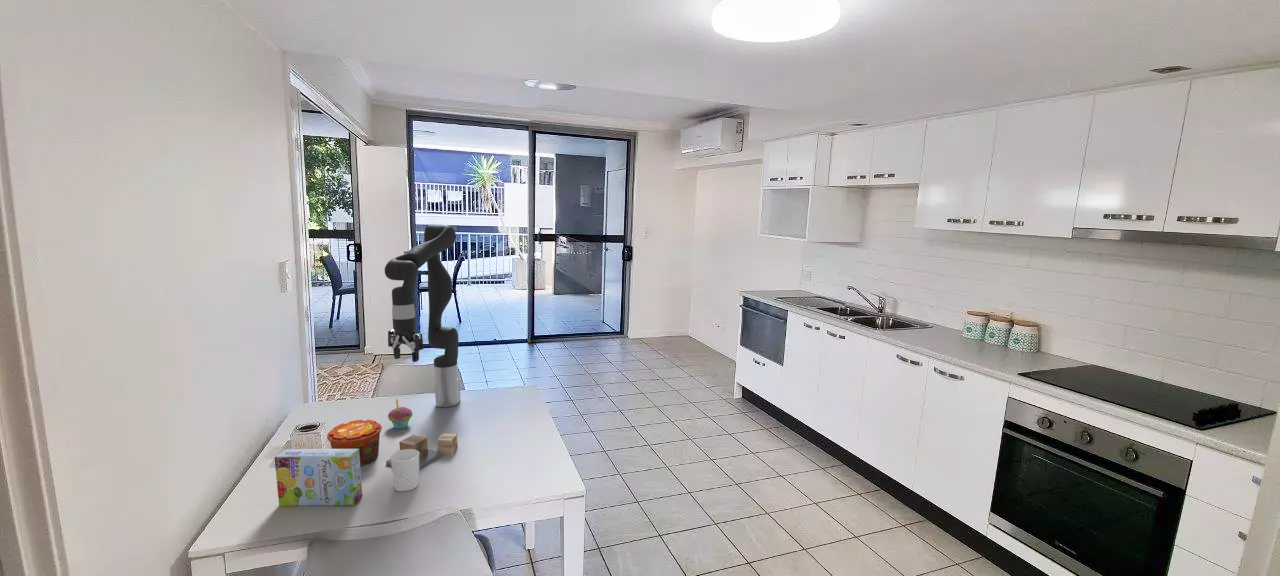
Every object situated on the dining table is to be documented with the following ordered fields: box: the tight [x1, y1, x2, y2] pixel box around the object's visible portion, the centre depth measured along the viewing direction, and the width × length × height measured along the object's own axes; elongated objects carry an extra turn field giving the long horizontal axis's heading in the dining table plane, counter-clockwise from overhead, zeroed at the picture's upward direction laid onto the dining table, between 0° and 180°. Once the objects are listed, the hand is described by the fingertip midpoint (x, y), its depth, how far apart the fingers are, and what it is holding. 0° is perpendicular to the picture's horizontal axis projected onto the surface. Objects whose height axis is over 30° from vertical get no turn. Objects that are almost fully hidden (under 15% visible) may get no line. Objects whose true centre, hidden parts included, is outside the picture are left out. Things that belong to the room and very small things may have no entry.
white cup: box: [390, 449, 420, 492], centre depth 161 cm, size 8×8×10 cm
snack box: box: [274, 448, 363, 507], centre depth 152 cm, size 21×6×15 cm, turn 92°
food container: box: [326, 419, 383, 467], centre depth 177 cm, size 16×16×11 cm
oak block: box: [436, 433, 458, 455], centre depth 184 cm, size 5×5×5 cm
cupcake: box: [387, 397, 413, 430], centre depth 202 cm, size 9×8×12 cm
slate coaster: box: [385, 448, 443, 470], centre depth 177 cm, size 12×12×1 cm
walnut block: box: [399, 434, 429, 460], centre depth 177 cm, size 6×6×6 cm
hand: (406, 359), depth 193 cm, fingers open, 8 cm apart
